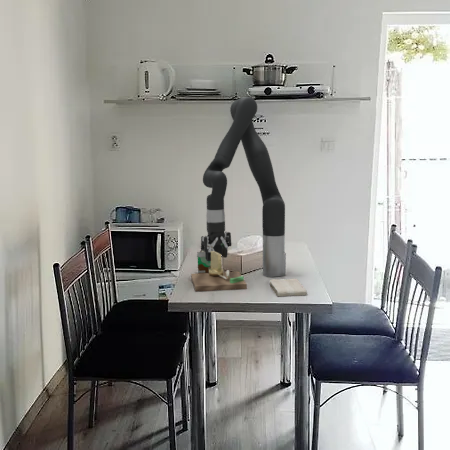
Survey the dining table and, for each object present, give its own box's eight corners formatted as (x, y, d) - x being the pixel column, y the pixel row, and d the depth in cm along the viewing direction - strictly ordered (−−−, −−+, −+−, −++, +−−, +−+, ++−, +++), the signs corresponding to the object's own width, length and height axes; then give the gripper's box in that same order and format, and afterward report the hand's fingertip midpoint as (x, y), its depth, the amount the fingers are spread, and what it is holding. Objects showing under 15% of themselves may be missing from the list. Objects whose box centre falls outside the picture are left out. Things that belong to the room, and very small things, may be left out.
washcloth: (296, 283, 247) (296, 276, 246) (308, 296, 229) (308, 288, 228) (267, 285, 245) (267, 277, 244) (277, 298, 227) (277, 290, 227)
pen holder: (202, 254, 297) (202, 234, 295) (220, 252, 301) (219, 232, 299) (210, 258, 288) (209, 237, 286) (228, 256, 292) (228, 236, 290)
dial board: (238, 276, 257) (238, 267, 256) (246, 288, 238) (246, 280, 237) (191, 278, 254) (191, 270, 253) (195, 291, 235) (195, 282, 235)
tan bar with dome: (205, 273, 253) (205, 251, 252) (218, 271, 256) (218, 250, 254) (221, 281, 240) (221, 259, 239) (235, 279, 243) (235, 257, 241)
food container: (211, 275, 258) (211, 252, 256) (197, 275, 259) (197, 252, 257) (217, 268, 270) (217, 246, 268) (204, 268, 271) (203, 246, 269)
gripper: (222, 216, 254) (223, 254, 257) (196, 221, 245) (197, 260, 248) (235, 218, 249) (235, 257, 252) (208, 223, 240) (209, 263, 242)
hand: (216, 259), depth 250 cm, fingers open, 8 cm apart
